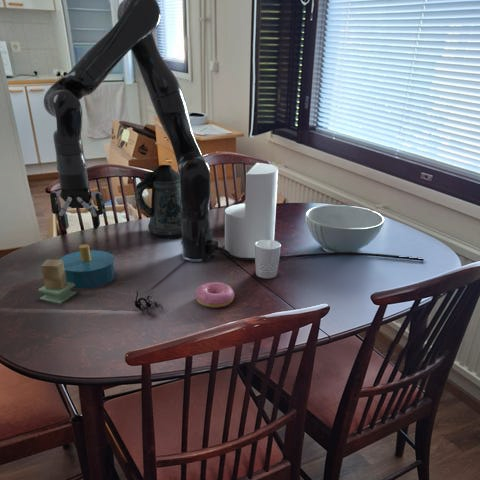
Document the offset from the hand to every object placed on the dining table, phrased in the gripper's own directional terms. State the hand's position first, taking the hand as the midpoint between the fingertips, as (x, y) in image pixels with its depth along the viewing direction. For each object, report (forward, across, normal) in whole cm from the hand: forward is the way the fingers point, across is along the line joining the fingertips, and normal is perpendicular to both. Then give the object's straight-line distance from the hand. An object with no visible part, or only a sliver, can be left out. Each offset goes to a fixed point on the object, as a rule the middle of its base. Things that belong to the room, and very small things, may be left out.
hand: (81, 228), depth 137 cm
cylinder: (+16, -49, -27) cm, 58 cm away
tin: (+16, 0, 0) cm, 16 cm away
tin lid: (+10, 0, 0) cm, 11 cm away
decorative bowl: (+16, -82, -29) cm, 88 cm away
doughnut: (+16, -39, +13) cm, 44 cm away
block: (+12, +5, +12) cm, 18 cm away
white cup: (+16, -54, -6) cm, 57 cm away
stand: (+16, +5, +12) cm, 21 cm away
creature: (+16, -22, +20) cm, 33 cm away
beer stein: (+16, -19, -40) cm, 47 cm away
